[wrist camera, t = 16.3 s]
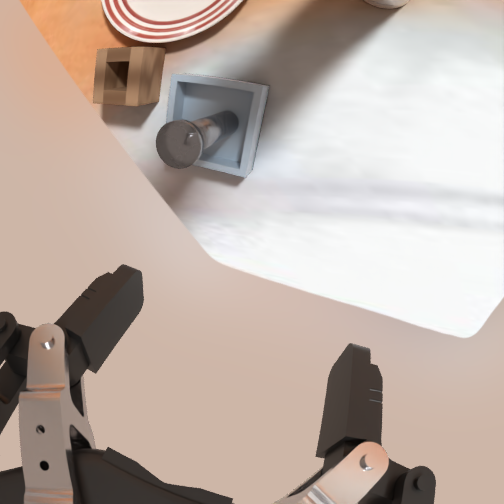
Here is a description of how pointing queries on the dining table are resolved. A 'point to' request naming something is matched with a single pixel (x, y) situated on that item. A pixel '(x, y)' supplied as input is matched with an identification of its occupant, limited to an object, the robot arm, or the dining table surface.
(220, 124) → the pin
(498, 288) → the dining table surface
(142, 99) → the block
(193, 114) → the tray
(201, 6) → the dinner plate
